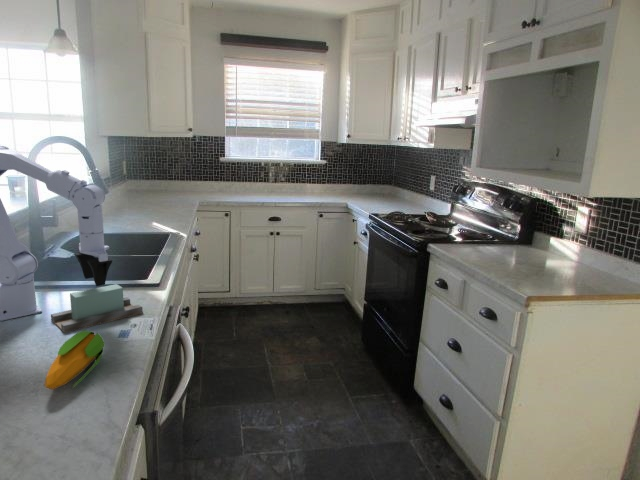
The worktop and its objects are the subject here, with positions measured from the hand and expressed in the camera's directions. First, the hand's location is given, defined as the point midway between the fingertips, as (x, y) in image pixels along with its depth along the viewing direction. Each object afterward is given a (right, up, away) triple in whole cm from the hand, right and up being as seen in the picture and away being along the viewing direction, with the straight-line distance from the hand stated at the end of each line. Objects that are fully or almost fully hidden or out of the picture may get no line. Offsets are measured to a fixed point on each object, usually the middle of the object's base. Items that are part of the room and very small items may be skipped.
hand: (94, 281), depth 124 cm
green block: (+1, -9, +1) cm, 9 cm away
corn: (+10, -17, -28) cm, 35 cm away
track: (+1, -10, +1) cm, 9 cm away
